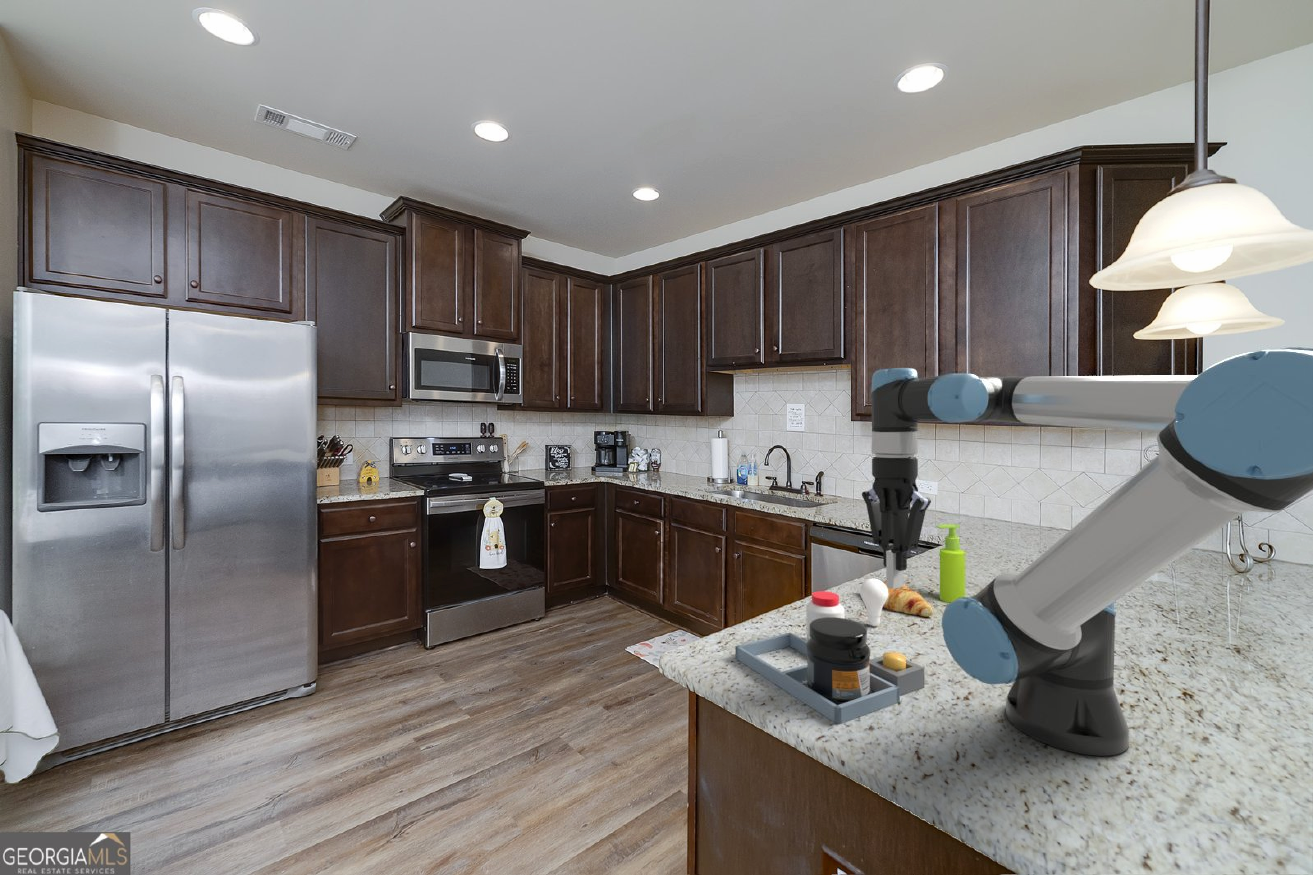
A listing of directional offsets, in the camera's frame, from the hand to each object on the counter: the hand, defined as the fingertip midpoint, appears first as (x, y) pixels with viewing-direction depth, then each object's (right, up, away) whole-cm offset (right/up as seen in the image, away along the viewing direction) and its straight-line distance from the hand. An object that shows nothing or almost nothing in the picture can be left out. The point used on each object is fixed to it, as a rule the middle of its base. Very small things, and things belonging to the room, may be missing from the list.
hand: (895, 586), depth 98 cm
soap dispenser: (+35, -16, +45) cm, 59 cm away
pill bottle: (-7, -18, +17) cm, 26 cm away
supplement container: (-11, -18, -3) cm, 22 cm away
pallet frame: (-14, -18, +3) cm, 23 cm away
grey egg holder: (0, -18, +1) cm, 18 cm away
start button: (0, -16, +1) cm, 16 cm away
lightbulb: (+7, -17, +28) cm, 34 cm away
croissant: (+18, -17, +41) cm, 48 cm away
